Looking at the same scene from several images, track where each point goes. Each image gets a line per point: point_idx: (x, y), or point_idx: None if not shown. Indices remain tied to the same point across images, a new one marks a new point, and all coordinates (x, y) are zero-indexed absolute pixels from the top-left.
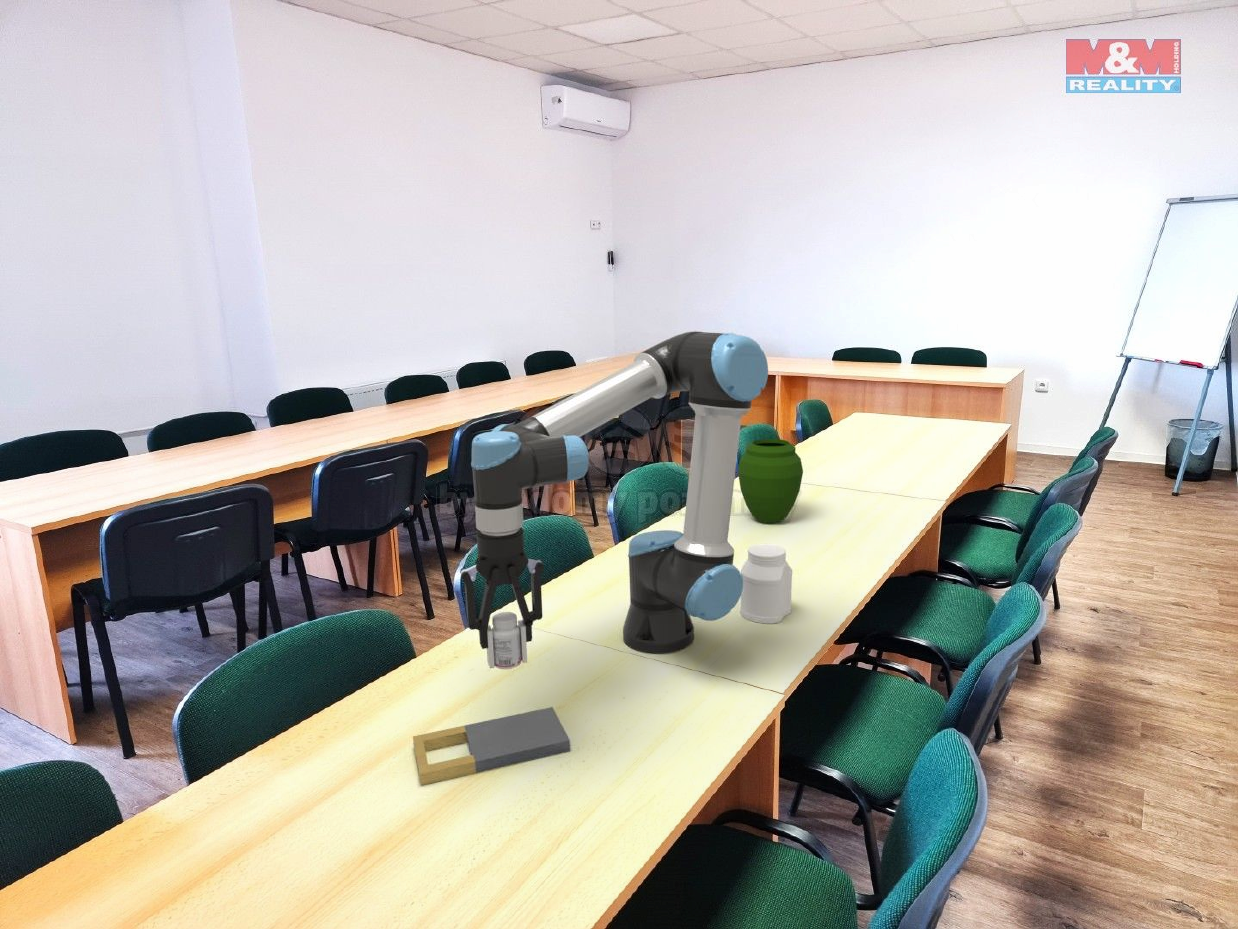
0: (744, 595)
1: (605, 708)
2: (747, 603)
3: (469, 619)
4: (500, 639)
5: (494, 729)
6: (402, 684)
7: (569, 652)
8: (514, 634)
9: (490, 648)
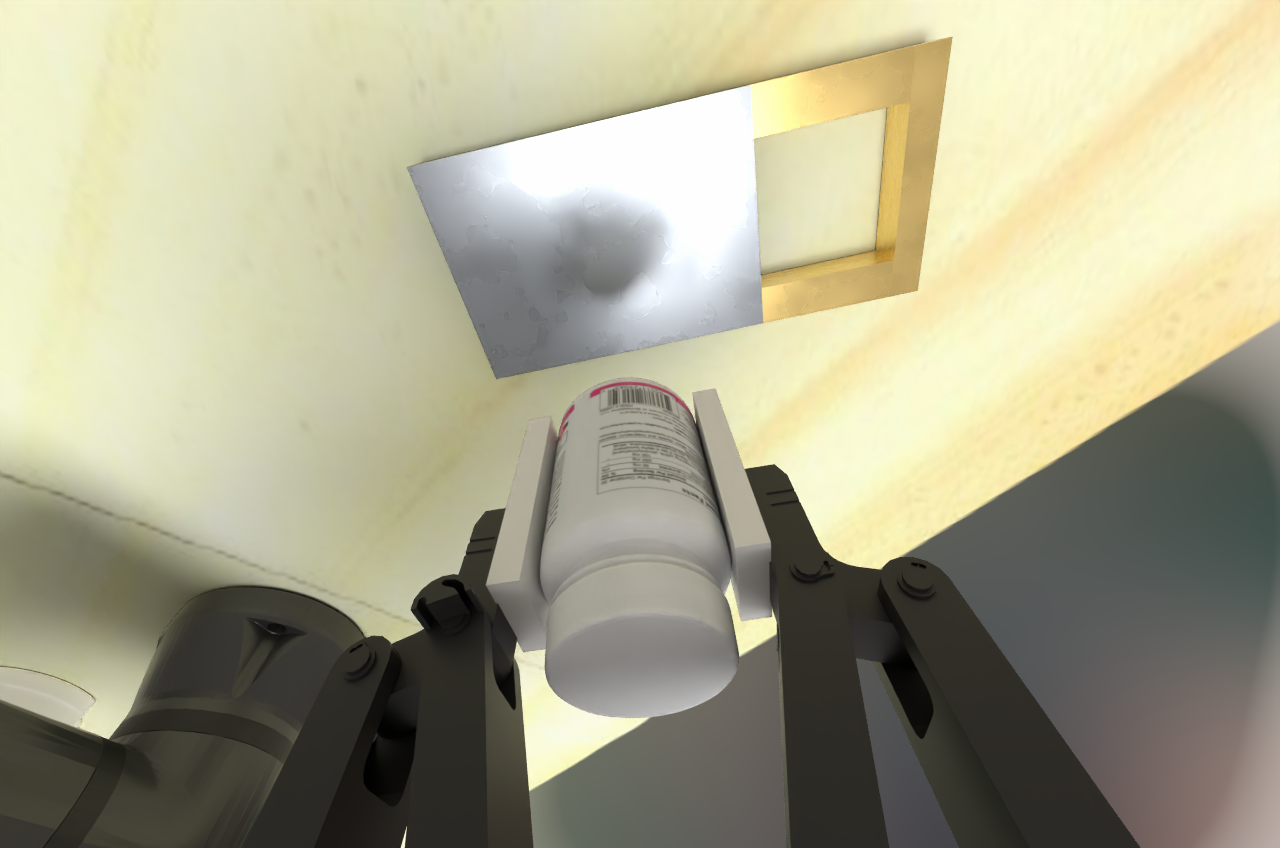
0: None
1: (349, 383)
2: None
3: (984, 643)
4: (671, 492)
5: (673, 285)
6: (868, 538)
7: None
8: (570, 524)
9: (729, 458)
